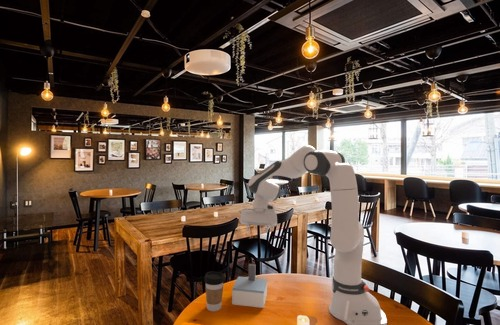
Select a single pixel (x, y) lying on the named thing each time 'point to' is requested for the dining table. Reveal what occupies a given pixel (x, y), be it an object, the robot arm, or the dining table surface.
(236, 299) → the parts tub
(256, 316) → the dining table surface
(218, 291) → the coffee cup
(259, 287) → the lid
